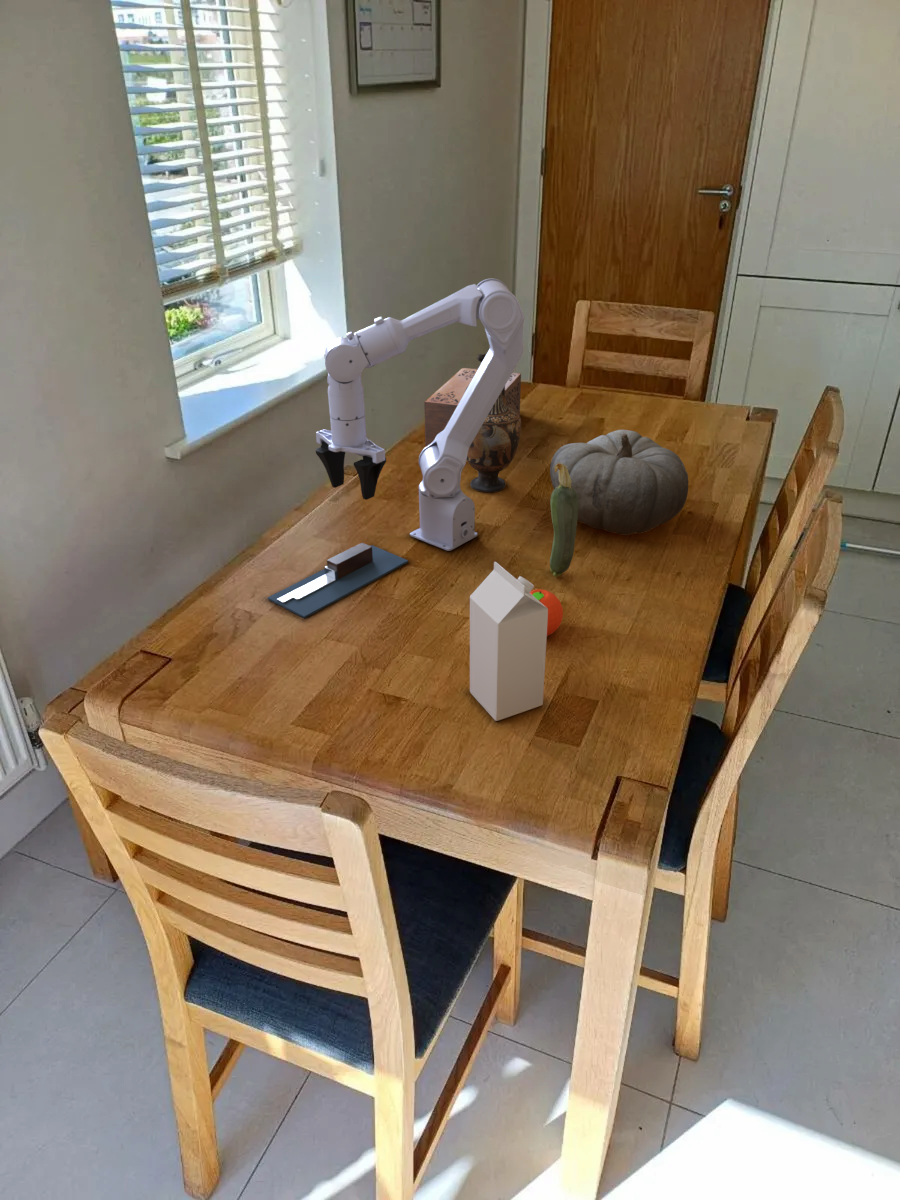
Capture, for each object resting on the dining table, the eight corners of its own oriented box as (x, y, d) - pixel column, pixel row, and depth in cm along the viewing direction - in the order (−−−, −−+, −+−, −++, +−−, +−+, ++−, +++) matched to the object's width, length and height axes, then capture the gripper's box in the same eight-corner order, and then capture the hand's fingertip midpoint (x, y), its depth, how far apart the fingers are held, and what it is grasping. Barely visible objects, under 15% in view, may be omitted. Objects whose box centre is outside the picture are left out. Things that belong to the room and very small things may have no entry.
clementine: (545, 655, 124) (547, 612, 120) (502, 641, 127) (503, 599, 123) (569, 628, 130) (572, 587, 126) (528, 615, 133) (529, 575, 129)
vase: (451, 492, 172) (450, 337, 156) (474, 468, 182) (475, 321, 166) (508, 501, 168) (512, 343, 152) (528, 477, 178) (534, 326, 162)
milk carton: (496, 722, 111) (498, 594, 101) (469, 692, 117) (469, 568, 107) (543, 706, 114) (550, 580, 104) (515, 677, 120) (519, 554, 110)
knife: (362, 556, 149) (361, 542, 147) (373, 561, 147) (372, 546, 146) (277, 600, 137) (274, 585, 135) (287, 606, 135) (285, 590, 134)
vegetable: (575, 573, 144) (584, 459, 133) (570, 586, 140) (578, 470, 130) (549, 569, 145) (556, 456, 135) (543, 582, 142) (549, 466, 131)
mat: (408, 562, 148) (408, 560, 147) (304, 618, 133) (304, 616, 133) (371, 546, 153) (371, 544, 152) (267, 599, 138) (267, 597, 138)
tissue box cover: (488, 453, 189) (488, 408, 184) (425, 445, 193) (424, 401, 188) (519, 414, 210) (521, 373, 204) (462, 408, 214) (462, 367, 209)
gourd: (519, 518, 155) (539, 423, 148) (568, 489, 176) (588, 404, 169) (654, 563, 146) (682, 463, 139) (689, 526, 167) (715, 438, 160)
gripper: (299, 411, 144) (307, 487, 151) (360, 431, 136) (366, 511, 143) (331, 400, 149) (337, 475, 156) (392, 419, 141) (396, 497, 148)
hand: (353, 491), depth 150 cm, fingers open, 7 cm apart
